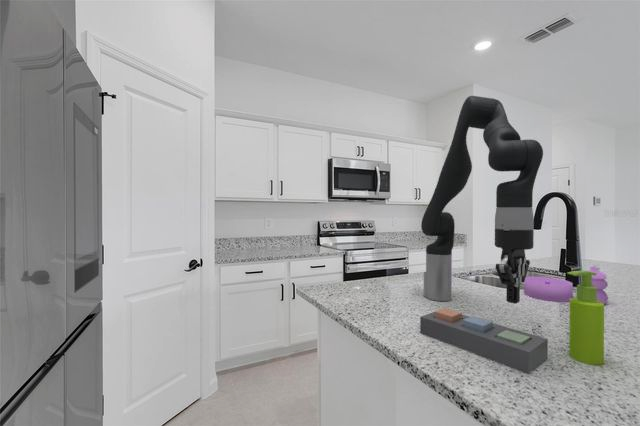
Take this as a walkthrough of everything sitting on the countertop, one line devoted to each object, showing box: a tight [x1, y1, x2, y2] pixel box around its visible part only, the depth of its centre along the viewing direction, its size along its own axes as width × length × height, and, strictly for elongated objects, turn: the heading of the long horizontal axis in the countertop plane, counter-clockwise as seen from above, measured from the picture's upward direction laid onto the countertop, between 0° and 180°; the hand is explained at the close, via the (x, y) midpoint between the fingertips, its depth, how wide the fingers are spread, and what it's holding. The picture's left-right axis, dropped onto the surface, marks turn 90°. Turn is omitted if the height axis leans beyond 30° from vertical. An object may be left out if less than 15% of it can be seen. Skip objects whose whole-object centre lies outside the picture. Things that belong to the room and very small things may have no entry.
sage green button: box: [497, 330, 530, 345], centre depth 70 cm, size 5×5×3 cm
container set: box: [523, 266, 609, 305], centre depth 116 cm, size 25×15×13 cm, turn 52°
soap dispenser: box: [566, 270, 605, 366], centre depth 69 cm, size 6×7×20 cm
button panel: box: [419, 311, 549, 375], centre depth 76 cm, size 26×11×4 cm, turn 37°
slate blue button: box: [463, 315, 494, 333], centre depth 76 cm, size 5×5×3 cm
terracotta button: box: [434, 307, 463, 323], centre depth 82 cm, size 5×5×3 cm
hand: (512, 302), depth 70 cm, fingers closed
